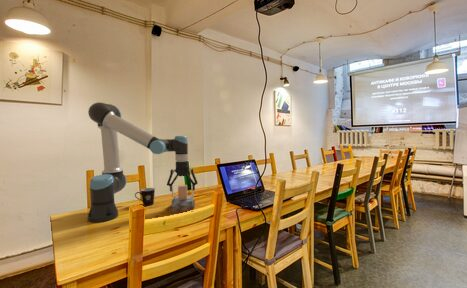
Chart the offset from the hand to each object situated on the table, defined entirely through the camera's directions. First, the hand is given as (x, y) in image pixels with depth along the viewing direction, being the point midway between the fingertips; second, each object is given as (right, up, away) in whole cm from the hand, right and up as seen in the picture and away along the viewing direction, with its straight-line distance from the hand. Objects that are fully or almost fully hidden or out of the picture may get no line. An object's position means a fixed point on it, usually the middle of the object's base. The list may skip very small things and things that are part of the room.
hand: (182, 196), depth 151 cm
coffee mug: (-26, -8, +10) cm, 29 cm away
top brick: (0, -2, 0) cm, 2 cm away
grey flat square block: (0, -8, 0) cm, 8 cm away
